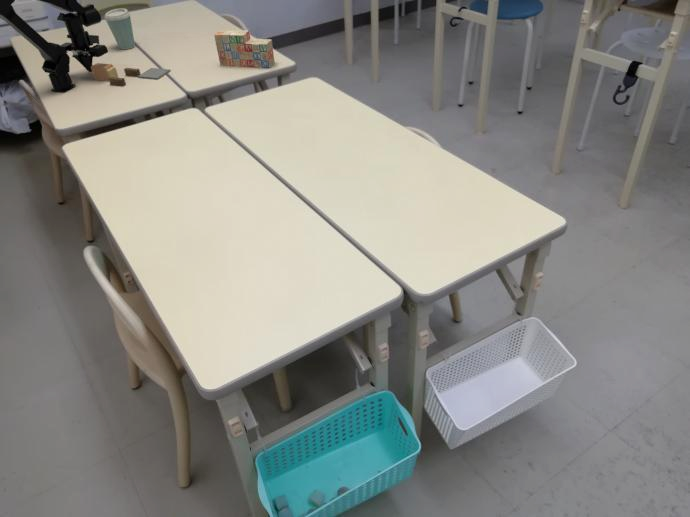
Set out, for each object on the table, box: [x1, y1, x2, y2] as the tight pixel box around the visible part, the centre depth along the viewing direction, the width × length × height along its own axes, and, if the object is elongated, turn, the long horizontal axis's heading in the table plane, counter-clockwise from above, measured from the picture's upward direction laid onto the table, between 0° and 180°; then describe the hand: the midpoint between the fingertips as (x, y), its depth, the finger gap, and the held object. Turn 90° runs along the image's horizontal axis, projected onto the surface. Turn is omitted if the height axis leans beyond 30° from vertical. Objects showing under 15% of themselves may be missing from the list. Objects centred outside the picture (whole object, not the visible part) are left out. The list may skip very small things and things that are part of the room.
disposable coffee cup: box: [104, 8, 136, 50], centre depth 232 cm, size 11×11×15 cm
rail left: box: [108, 77, 127, 87], centre depth 202 cm, size 2×6×2 cm, turn 72°
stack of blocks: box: [213, 29, 275, 69], centre depth 209 cm, size 21×6×12 cm, turn 75°
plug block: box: [91, 62, 119, 82], centre depth 207 cm, size 4×8×5 cm, turn 71°
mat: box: [137, 67, 172, 81], centre depth 209 cm, size 9×9×1 cm
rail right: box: [123, 67, 142, 78], centre depth 209 cm, size 2×6×2 cm, turn 72°
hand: (90, 71), depth 209 cm, fingers closed
